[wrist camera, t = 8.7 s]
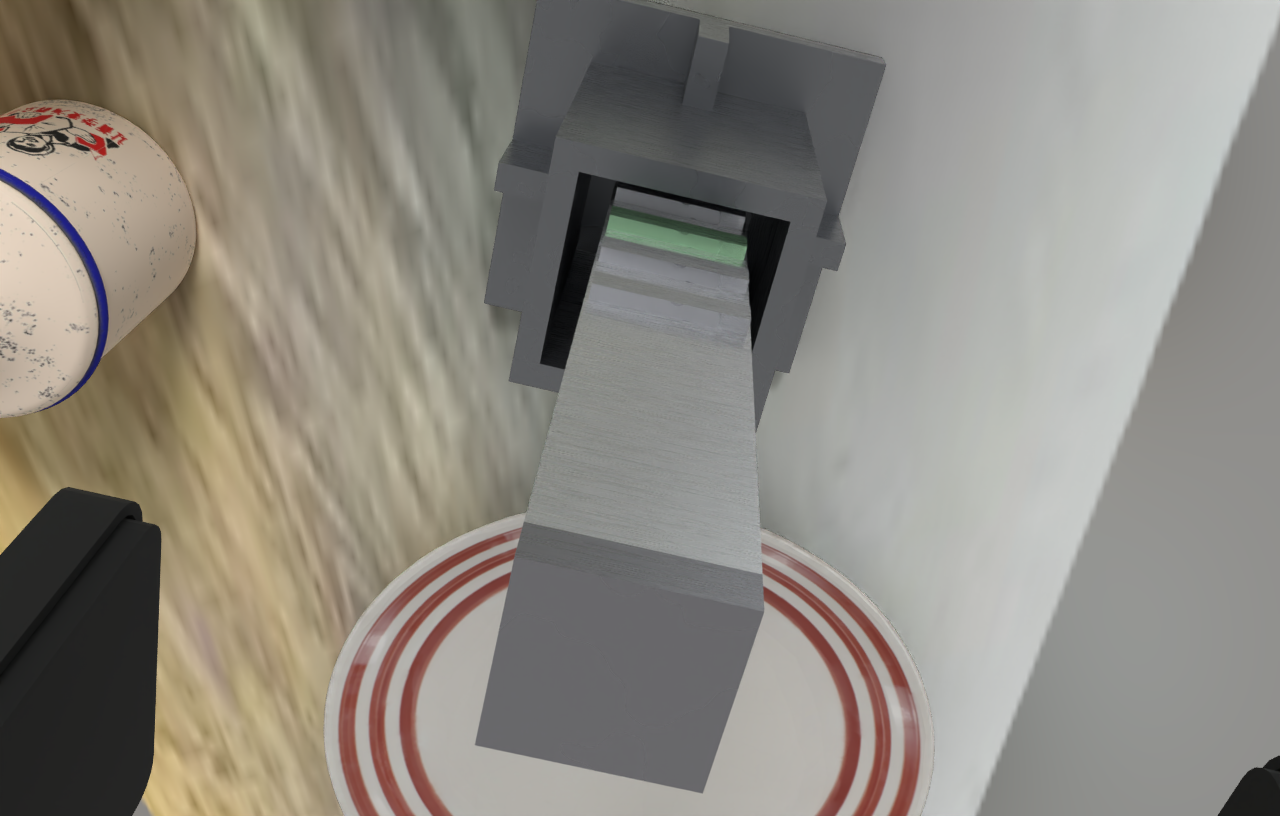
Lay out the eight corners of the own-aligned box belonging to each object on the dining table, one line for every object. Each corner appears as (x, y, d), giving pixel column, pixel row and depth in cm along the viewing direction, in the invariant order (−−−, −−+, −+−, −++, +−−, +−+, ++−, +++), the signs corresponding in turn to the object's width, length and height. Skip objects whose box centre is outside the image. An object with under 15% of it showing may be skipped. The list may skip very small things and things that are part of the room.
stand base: (545, -25, 41) (489, 36, 31) (881, 57, 42) (931, 142, 32) (489, 291, 47) (426, 427, 37) (787, 360, 48) (804, 512, 38)
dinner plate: (643, 346, 48) (638, 383, 45) (1045, 747, 56) (1063, 800, 53) (225, 694, 58) (199, 743, 55) (620, 992, 66) (615, 1049, 63)
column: (621, 158, 37) (518, 535, 18) (747, 188, 37) (770, 591, 19) (590, 298, 39) (470, 762, 21) (709, 326, 40) (697, 809, 21)
